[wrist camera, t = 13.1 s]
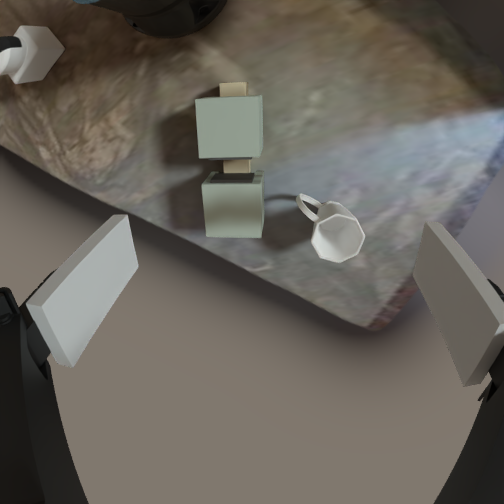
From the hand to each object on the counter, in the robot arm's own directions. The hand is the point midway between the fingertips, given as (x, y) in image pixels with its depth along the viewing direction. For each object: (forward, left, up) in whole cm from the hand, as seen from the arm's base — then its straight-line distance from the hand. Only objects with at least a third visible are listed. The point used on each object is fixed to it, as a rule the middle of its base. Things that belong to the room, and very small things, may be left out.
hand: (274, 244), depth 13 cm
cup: (+11, +6, -32) cm, 34 cm away
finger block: (-2, -6, -30) cm, 30 cm away
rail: (+2, -6, -32) cm, 32 cm away
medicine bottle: (-18, -38, -32) cm, 53 cm away
